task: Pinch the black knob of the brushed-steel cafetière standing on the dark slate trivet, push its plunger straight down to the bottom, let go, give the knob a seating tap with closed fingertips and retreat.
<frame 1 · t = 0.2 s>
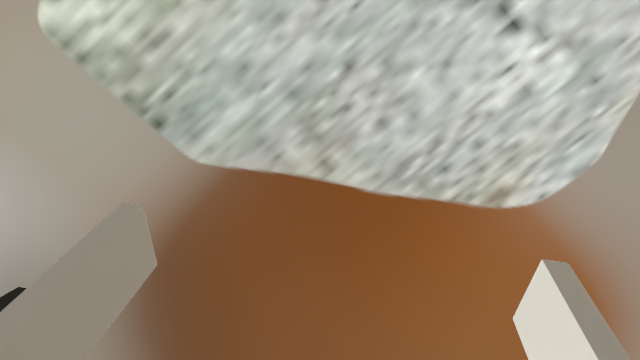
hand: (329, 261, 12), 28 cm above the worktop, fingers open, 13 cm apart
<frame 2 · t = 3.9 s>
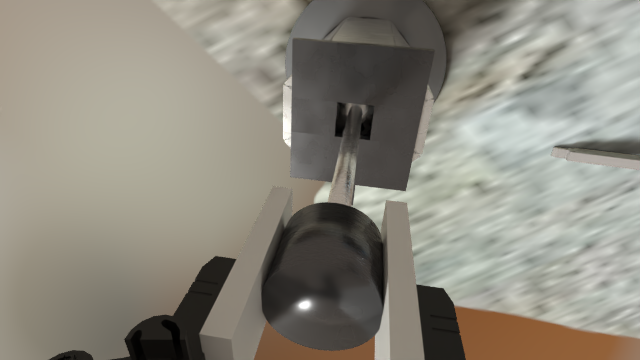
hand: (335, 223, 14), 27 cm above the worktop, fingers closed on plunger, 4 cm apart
trivet: (363, 67, 37), on the worktop
plunger: (345, 167, 18), point 22 cm above the worktop, slide at 0.0 cm, touching gripper
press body: (363, 69, 36), resting on trivet
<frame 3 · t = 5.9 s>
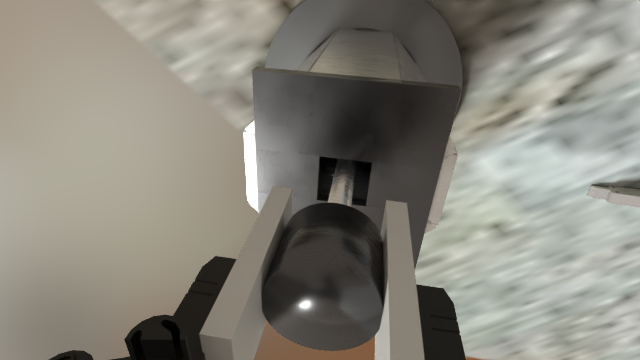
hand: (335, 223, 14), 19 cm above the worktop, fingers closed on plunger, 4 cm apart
trivet: (359, 89, 30), on the worktop
plunger: (345, 167, 18), point 14 cm above the worktop, slide at 7.9 cm, touching gripper
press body: (359, 92, 29), resting on trivet
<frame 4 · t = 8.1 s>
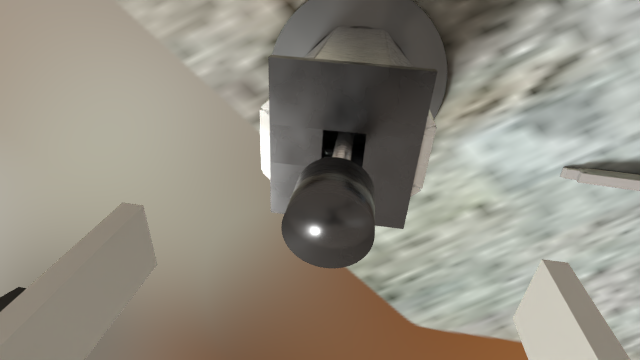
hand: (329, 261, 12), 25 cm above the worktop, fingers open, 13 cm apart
trivet: (356, 81, 33), on the worktop
plunger: (344, 141, 21), point 14 cm above the worktop, slide at 8.0 cm
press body: (355, 83, 33), resting on trivet
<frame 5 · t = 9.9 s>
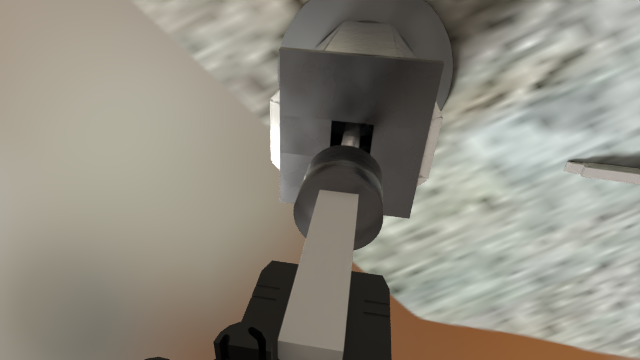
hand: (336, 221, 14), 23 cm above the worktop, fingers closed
trivet: (362, 75, 34), on the worktop
plunger: (352, 132, 22), point 14 cm above the worktop, slide at 8.0 cm, touching gripper
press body: (362, 77, 33), resting on trivet
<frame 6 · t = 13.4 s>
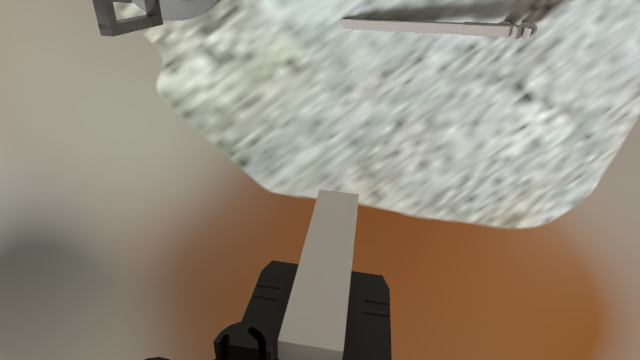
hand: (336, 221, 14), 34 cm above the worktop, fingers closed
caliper: (429, 24, 42), on the worktop
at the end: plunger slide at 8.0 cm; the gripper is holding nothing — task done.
